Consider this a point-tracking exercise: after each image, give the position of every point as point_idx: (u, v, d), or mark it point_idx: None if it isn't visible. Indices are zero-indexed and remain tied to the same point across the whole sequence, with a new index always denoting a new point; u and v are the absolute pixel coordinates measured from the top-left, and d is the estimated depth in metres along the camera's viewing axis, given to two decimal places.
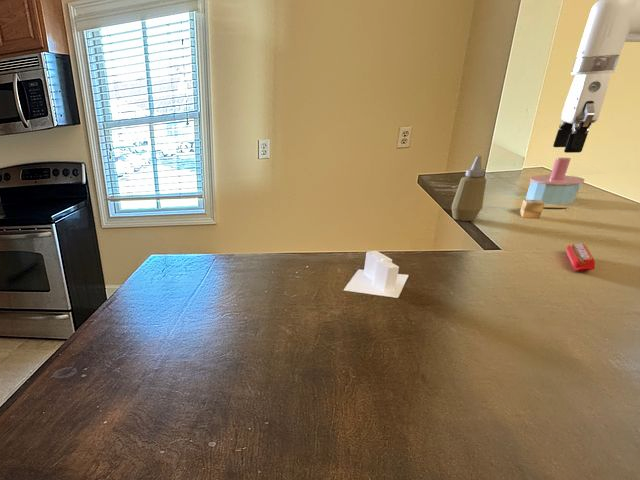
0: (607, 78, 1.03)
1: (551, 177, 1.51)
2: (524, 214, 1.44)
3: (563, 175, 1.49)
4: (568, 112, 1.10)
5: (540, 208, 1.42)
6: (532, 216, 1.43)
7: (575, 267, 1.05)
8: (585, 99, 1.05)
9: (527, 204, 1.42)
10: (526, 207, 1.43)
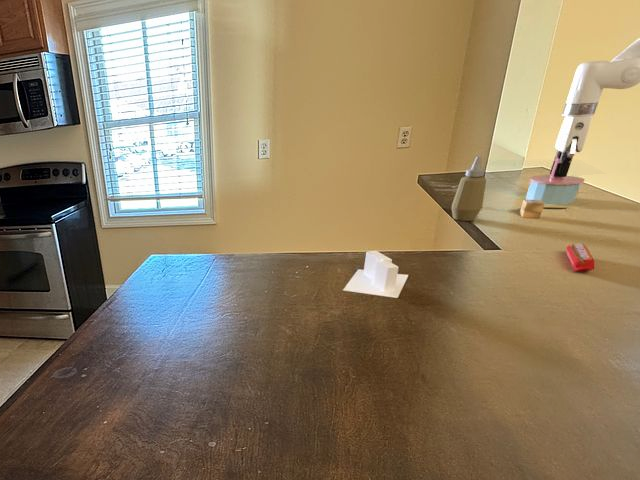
0: (589, 120, 1.38)
1: (551, 177, 1.51)
2: (524, 214, 1.44)
3: None
4: (560, 143, 1.46)
5: (540, 208, 1.42)
6: (532, 216, 1.43)
7: (575, 267, 1.05)
8: (572, 135, 1.41)
9: (527, 204, 1.42)
10: (526, 207, 1.43)
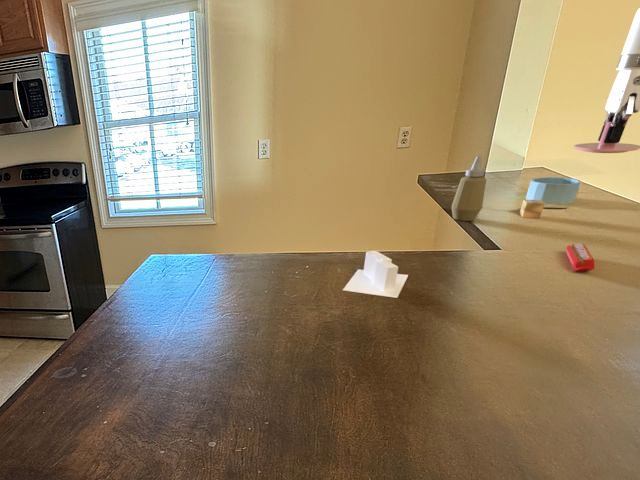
0: None
1: (600, 144, 1.29)
2: (524, 214, 1.44)
3: None
4: (613, 103, 1.24)
5: (540, 208, 1.42)
6: (532, 216, 1.43)
7: (575, 267, 1.05)
8: (630, 91, 1.20)
9: (527, 204, 1.42)
10: (526, 207, 1.43)
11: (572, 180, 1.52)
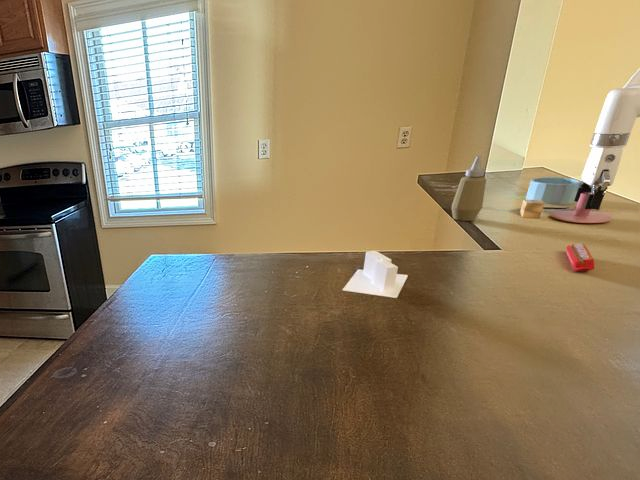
0: (621, 152, 1.26)
1: (575, 213, 1.39)
2: (524, 214, 1.44)
3: (589, 211, 1.37)
4: (587, 176, 1.33)
5: (540, 208, 1.42)
6: (532, 216, 1.43)
7: (575, 267, 1.05)
8: (602, 168, 1.28)
9: (527, 204, 1.42)
10: (526, 207, 1.43)
11: (572, 180, 1.52)
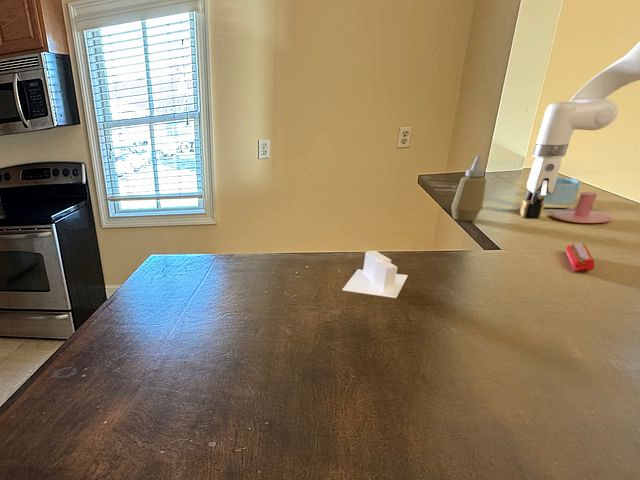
0: (559, 162, 1.33)
1: (575, 213, 1.39)
2: (524, 214, 1.44)
3: (589, 211, 1.37)
4: (531, 184, 1.41)
5: None
6: None
7: (574, 267, 1.05)
8: (542, 176, 1.36)
9: (527, 204, 1.42)
10: (526, 207, 1.43)
11: (572, 180, 1.52)
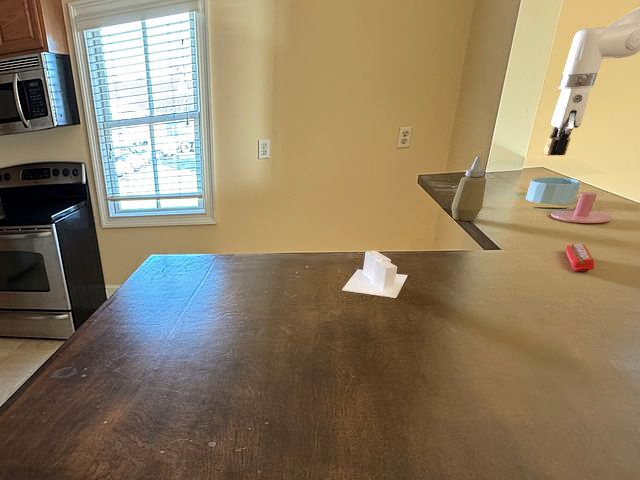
0: (588, 92, 1.28)
1: (575, 213, 1.39)
2: (549, 151, 1.38)
3: (589, 211, 1.37)
4: (556, 119, 1.35)
5: None
6: None
7: (574, 267, 1.05)
8: (570, 109, 1.30)
9: (552, 140, 1.37)
10: (551, 144, 1.37)
11: (572, 180, 1.52)
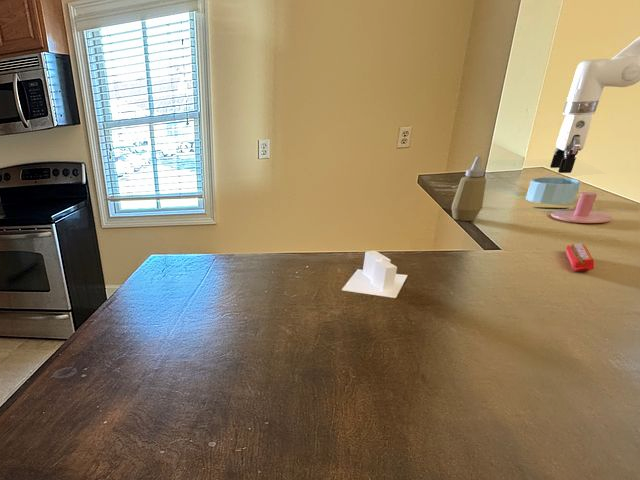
0: (590, 118, 1.38)
1: (575, 213, 1.39)
2: None
3: (589, 211, 1.37)
4: (561, 142, 1.45)
5: None
6: None
7: (574, 267, 1.05)
8: (573, 133, 1.41)
9: None
10: None
11: (572, 180, 1.52)
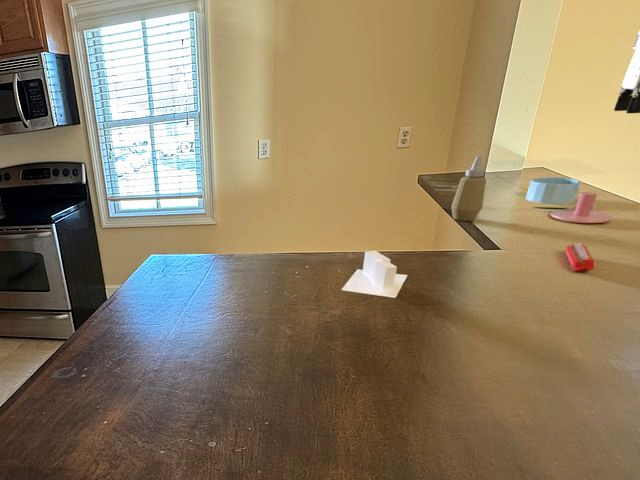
0: None
1: (575, 213, 1.39)
2: None
3: (589, 211, 1.37)
4: (630, 80, 1.35)
5: None
6: None
7: (574, 267, 1.05)
8: None
9: None
10: None
11: (572, 180, 1.52)
